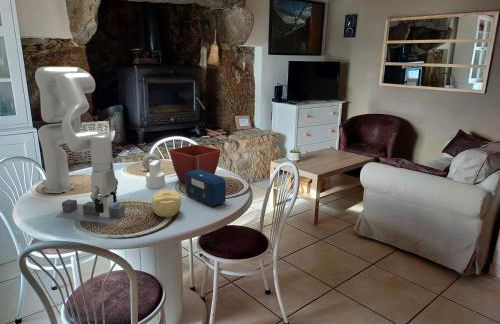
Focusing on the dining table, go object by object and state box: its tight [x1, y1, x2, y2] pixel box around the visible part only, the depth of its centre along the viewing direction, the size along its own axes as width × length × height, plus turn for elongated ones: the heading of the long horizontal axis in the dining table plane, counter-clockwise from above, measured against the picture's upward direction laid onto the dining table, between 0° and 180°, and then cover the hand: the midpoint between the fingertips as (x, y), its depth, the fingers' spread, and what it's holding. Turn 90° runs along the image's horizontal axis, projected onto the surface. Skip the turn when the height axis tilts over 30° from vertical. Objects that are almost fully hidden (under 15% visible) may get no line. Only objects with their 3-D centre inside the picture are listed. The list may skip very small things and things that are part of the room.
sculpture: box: [151, 189, 182, 218], centre depth 150 cm, size 11×12×11 cm
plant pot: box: [169, 144, 222, 183], centre depth 191 cm, size 19×19×17 cm
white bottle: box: [98, 194, 114, 217], centre depth 145 cm, size 4×4×10 cm
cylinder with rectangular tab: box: [145, 159, 166, 189], centre depth 183 cm, size 9×9×12 cm
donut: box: [141, 153, 161, 171], centre depth 207 cm, size 10×4×10 cm, turn 112°
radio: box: [185, 162, 227, 207], centre depth 165 cm, size 21×9×20 cm, turn 45°
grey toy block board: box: [54, 198, 132, 228], centre depth 147 cm, size 25×14×6 cm, turn 78°
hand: (106, 207), depth 145 cm, fingers open, 8 cm apart
